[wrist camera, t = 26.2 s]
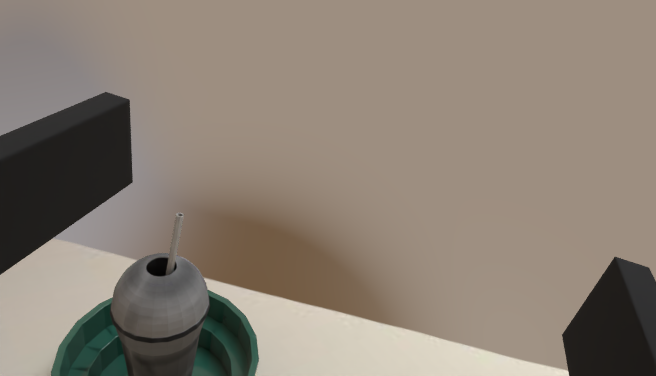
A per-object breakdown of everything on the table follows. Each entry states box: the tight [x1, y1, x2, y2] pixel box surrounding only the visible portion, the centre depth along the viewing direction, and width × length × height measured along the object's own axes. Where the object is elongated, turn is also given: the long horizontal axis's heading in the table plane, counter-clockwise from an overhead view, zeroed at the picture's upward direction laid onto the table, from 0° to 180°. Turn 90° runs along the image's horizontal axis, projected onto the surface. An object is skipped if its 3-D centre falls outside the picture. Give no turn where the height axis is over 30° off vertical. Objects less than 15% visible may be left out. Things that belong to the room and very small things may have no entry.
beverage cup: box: [110, 213, 210, 376], centre depth 37 cm, size 7×7×20 cm
